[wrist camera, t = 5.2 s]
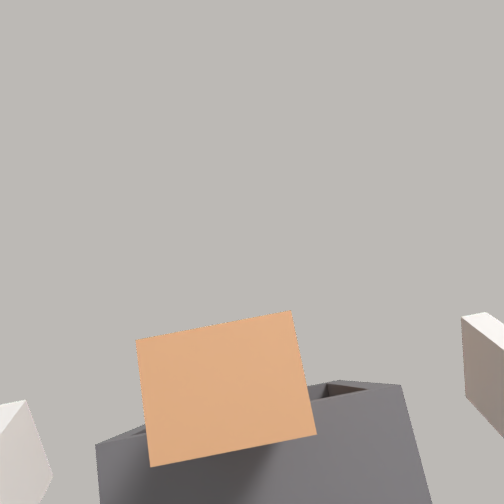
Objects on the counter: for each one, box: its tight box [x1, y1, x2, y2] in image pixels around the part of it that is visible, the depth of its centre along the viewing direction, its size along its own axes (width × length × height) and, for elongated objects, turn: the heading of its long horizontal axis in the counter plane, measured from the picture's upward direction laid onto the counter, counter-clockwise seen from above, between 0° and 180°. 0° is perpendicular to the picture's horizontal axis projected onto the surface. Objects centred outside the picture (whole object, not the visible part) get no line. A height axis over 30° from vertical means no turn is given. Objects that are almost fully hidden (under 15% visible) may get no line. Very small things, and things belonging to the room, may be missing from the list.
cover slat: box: [136, 311, 317, 467], centre depth 25 cm, size 28×4×3 cm, turn 178°
